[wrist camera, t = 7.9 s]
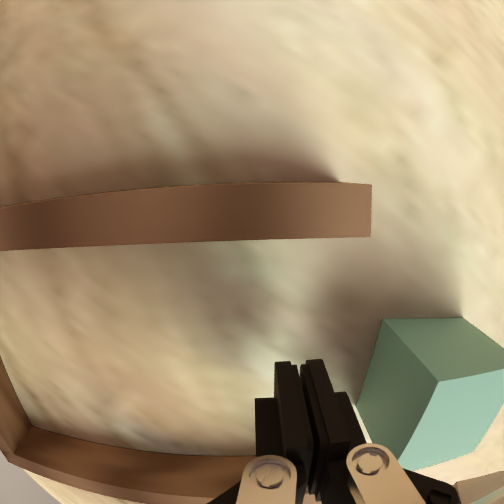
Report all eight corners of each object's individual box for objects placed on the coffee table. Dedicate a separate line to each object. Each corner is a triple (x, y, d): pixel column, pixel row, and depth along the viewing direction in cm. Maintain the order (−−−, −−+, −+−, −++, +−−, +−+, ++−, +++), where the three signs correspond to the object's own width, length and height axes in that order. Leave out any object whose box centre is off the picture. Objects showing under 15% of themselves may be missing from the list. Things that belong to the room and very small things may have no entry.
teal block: (461, 317, 13) (522, 363, 8) (431, 395, 14) (473, 451, 9) (381, 318, 13) (438, 381, 8) (355, 404, 14) (387, 476, 9)
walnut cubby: (340, 182, 11) (371, 184, 8) (315, 465, 15) (323, 503, 12) (-46, 216, 11) (-83, 226, 8) (26, 436, 14) (8, 462, 11)
